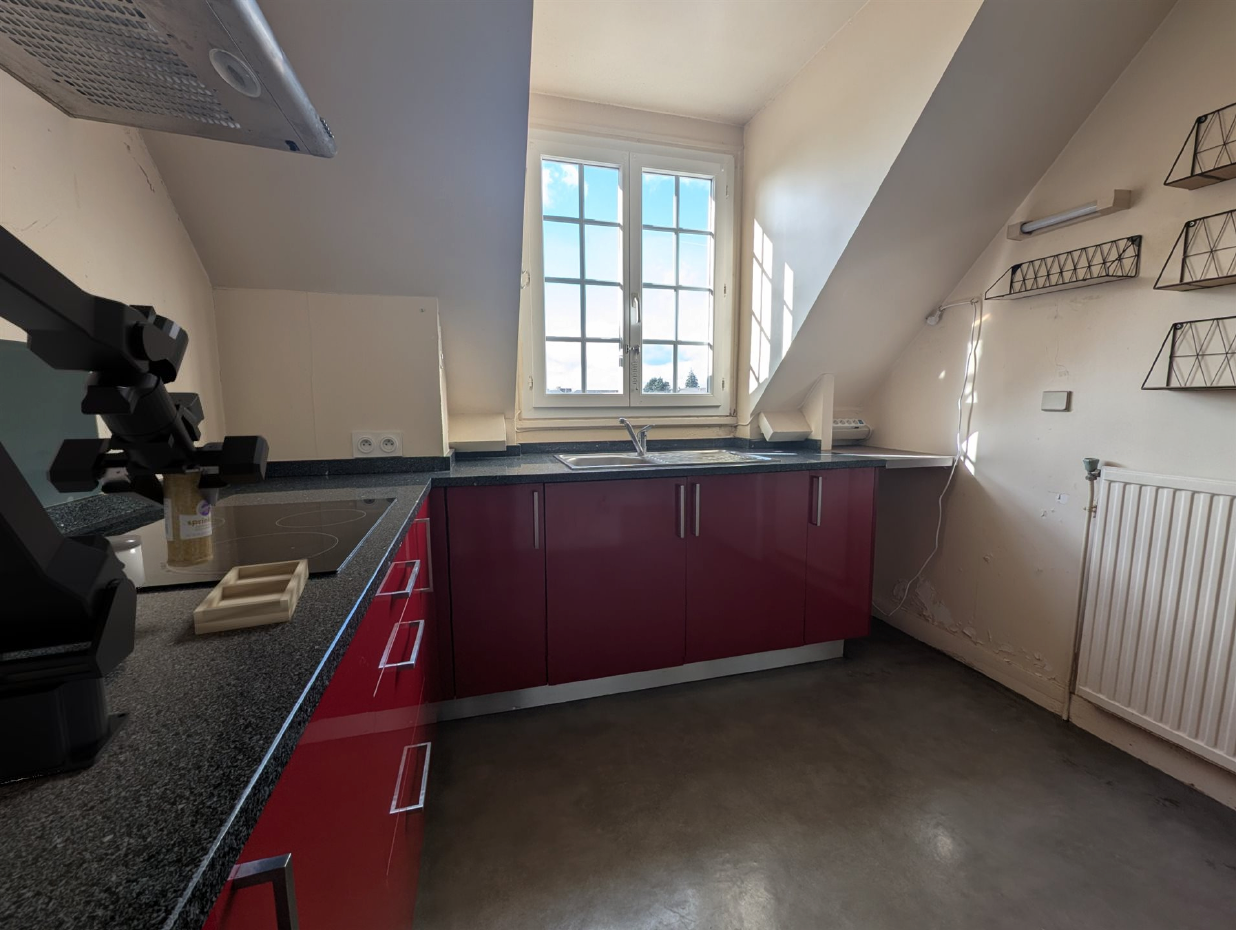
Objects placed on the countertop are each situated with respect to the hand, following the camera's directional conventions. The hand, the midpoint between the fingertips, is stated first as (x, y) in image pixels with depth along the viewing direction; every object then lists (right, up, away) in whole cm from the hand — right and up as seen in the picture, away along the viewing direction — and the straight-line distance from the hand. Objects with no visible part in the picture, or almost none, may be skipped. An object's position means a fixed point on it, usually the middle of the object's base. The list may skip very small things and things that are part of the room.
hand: (192, 504), depth 64 cm
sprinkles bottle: (0, -7, -1) cm, 7 cm away
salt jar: (-17, -13, +8) cm, 23 cm away
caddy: (+6, -13, +3) cm, 15 cm away
